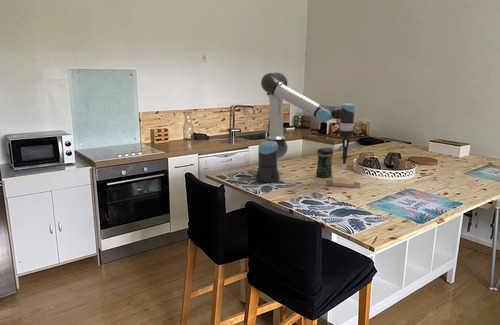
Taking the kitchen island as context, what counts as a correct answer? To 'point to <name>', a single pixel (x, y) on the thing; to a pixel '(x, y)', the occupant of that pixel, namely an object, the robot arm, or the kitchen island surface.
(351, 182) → the tile
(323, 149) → the coffee jar
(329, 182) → the mat
